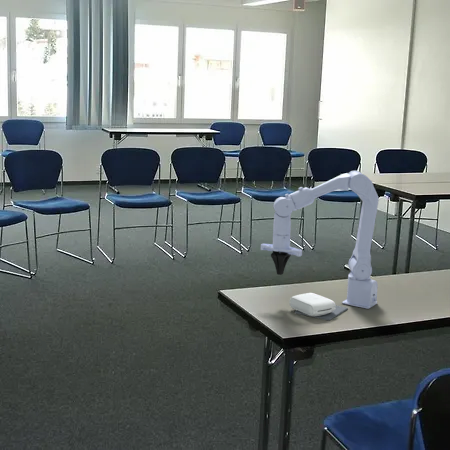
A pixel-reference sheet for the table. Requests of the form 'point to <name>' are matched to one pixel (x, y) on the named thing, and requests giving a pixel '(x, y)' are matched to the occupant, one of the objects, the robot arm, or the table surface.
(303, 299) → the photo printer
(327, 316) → the slate mat
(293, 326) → the table surface
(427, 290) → the table surface
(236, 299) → the table surface
